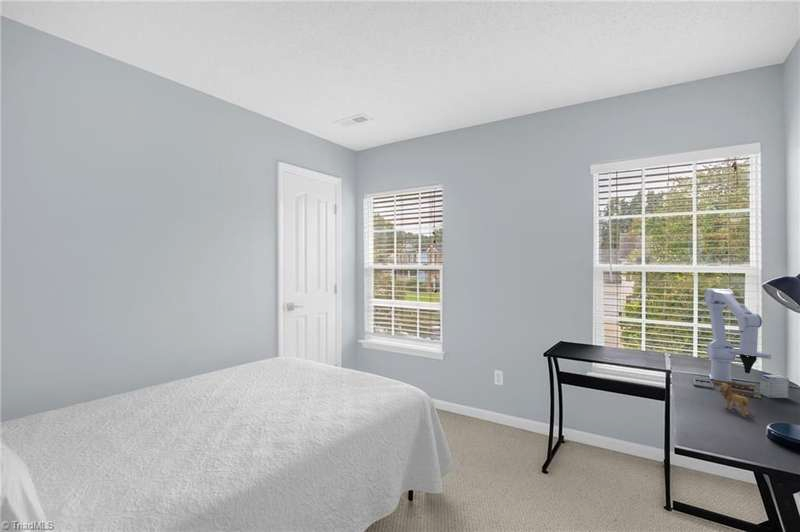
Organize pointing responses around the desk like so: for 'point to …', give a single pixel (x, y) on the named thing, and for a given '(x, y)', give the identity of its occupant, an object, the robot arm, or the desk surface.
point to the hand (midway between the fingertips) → (747, 372)
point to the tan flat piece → (750, 386)
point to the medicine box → (774, 386)
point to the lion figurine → (734, 398)
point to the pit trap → (702, 382)
